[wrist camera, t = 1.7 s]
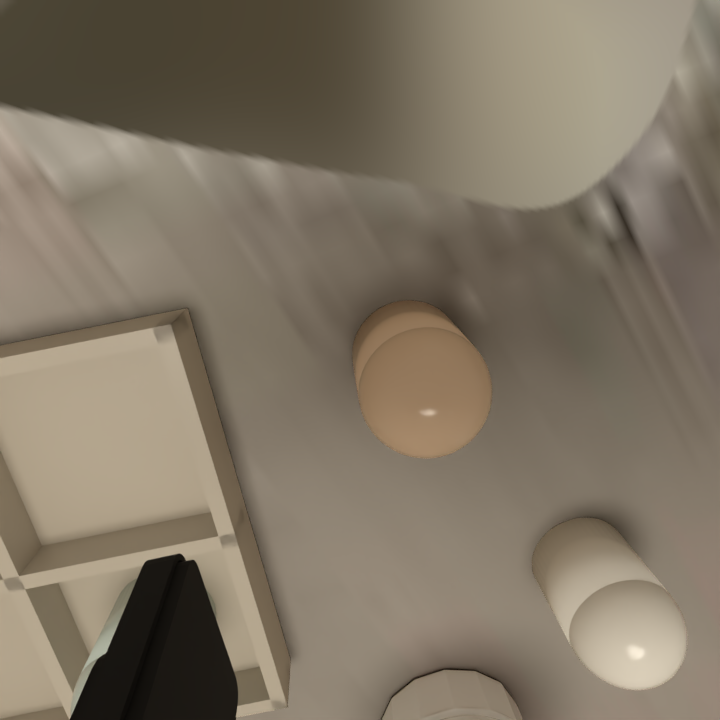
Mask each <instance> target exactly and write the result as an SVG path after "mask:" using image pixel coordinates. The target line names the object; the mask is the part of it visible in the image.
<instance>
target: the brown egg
mask: <svg viewBox="0 0 720 720" xmlns="http://www.w3.org/2000/svg"><path fill="white" fill-rule="evenodd" d="M352 360H353V367H354V373H355V380H356V386H357V392H358V398H359V404H360V408H361V411H362V414H363V417H364V419H365V421H366V423H367V425H368V427H369V428H370V430H371V431H372V432H373V433H374V435H375V436H376V437H377V438H378V439H379V440H380V441H381V442H382V443H383V444H385V445H386V446H388V447H389V448H391V449H392V450H394V451H396V452H398V453H400V454H403V455H406V456H410V457H415V458H437V457H442V456H445V455H448V454H451V453H454V452H455V451H457V450H459V449H461V448H462V447H464V446H465V445H467V444H468V443H469V442H470V441H471V440H472V439H473V438H474V437H475V436H476V435H477V434H478V433H479V431H480V430H481V428H482V427H483V425H484V423H485V421H486V419H487V417H488V414H489V412H490V407H491V402H492V382H491V377H490V373H489V370H488V367H487V365H486V363H485V361H484V359H483V358H482V356H481V354H480V353H479V352H478V350H477V349H476V348H475V347H474V346H473V345H472V343H471V342H470V341H469V340H468V339H467V338H466V337H465V336H464V334H463V333H462V332H461V331H460V330H459V329H458V328H457V327H456V326H455V324H454V323H453V322H452V321H451V320H450V319H449V318H448V317H447V316H446V315H445V314H444V313H443V312H442V311H440V310H439V309H438V308H436V307H434V306H432V305H430V304H427V303H424V302H420V301H414V300H404V301H397V302H393V303H390V304H387V305H385V306H383V307H381V308H379V309H378V310H376V311H375V312H373V313H372V314H371V315H370V316H369V317H368V318H367V319H366V320H365V321H364V322H363V324H362V325H361V327H360V328H359V330H358V332H357V334H356V337H355V340H354V343H353V349H352Z"/></svg>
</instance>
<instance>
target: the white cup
mask: <svg viewBox="0 0 720 720" xmlns="http://www.w3.org/2000/svg"><path fill="white" fill-rule="evenodd" d="M382 720H523V719H522V716H521V714H520V712H519V709H518V707H517V705H516V703H515V701H514V700H513V699H512V697H511V696H510V695H509V693H508V692H507V690H506V689H505V688H504V686H503V685H502V684H501V683H500V682H498V681H496V680H494V679H492V678H489V677H487V676H485V675H483V674H481V673H479V672H477V671H465V670H442V671H439V672H436V673H433V674H429V675H426V676H423V677H420V678H417V679H415V680H413V681H412V682H411V683H410V684H408V685H407V686H406V687H405V688H403V689H402V690H401V691H400V692H398V693H397V694H396V695H395V696H394V697H392V699H391V701H390V703H389V705H388V707H387V709H386V711H385V714H384V716H383V718H382Z"/></svg>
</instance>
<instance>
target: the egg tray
mask: <svg viewBox="0 0 720 720" xmlns="http://www.w3.org/2000/svg"><path fill="white" fill-rule="evenodd" d="M179 553H180V554H182V555H183V556H184V558H185V560H186V561H188V560H195V562H196V563H197V565H198V568H199V571H200V574H201V576H202V579H203V582H204V585H205V588H206V590H207V591H208V593H209V594H210V595H211V597H212V599H213V601H214V603H215V607H216V613H217V616H216V620H217V623H218V626H219V629H220V632H221V635H222V638H223V641H224V644H225V647H226V650H227V652H228V655H229V658H230V661H231V664H232V667H233V670H234V673H235V676H236V680H237V685H238V706H237V713H236V718H237V717H242V716H247V715H252V714H257V713H262V712H267V711H272V710H277V709H282V708H287V707H288V695H289V679H290V664H291V660H290V656H289V653H288V650H287V646H286V643H285V639H284V636H283V632H282V629H281V626H280V622H279V619H278V615H277V612H276V609H275V605H274V602H273V598H272V595H271V591H270V588H269V585H268V581H267V578H266V574H265V571H264V568H263V564H262V561H261V557H260V554H259V550H258V547H257V544H256V540H255V537H254V533H253V530H252V527H251V523H250V520H249V516H248V513H247V509H246V506H245V503H244V499H243V496H242V492H241V489H240V486H239V482H238V479H237V475H236V472H235V468H234V465H233V462H232V458H231V455H230V451H229V448H228V445H227V441H226V438H225V434H224V431H223V427H222V424H221V421H220V417H219V414H218V410H217V407H216V404H215V400H214V397H213V393H212V390H211V386H210V383H209V380H208V376H207V373H206V369H205V366H204V362H203V359H202V356H201V352H200V349H199V345H198V342H197V339H196V335H195V332H194V328H193V325H192V321H191V318H190V315H189V311H188V308H185V309H180V310H175V311H170V312H165V313H160V314H155V315H150V316H145V317H140V318H135V319H130V320H125V321H120V322H115V323H110V324H105V325H100V326H95V327H90V328H85V329H80V330H75V331H70V332H65V333H60V334H55V335H50V336H45V337H40V338H35V339H30V340H25V341H20V342H15V343H10V344H5V345H0V720H70V718H71V701H72V696H73V692H74V689H75V686H76V683H77V681H78V678H79V676H80V674H81V672H82V670H83V668H84V666H85V664H86V662H87V660H88V658H89V656H90V654H91V651H92V649H93V647H94V645H95V643H96V641H97V639H98V637H99V635H100V633H101V631H102V629H103V627H104V625H105V623H106V621H107V619H108V617H109V615H110V612H111V610H112V608H113V606H114V604H115V602H116V600H117V598H118V596H119V594H120V593H121V591H122V590H123V589H124V588H125V587H126V586H127V585H128V584H129V583H130V582H132V581H133V580H135V579H137V578H138V576H139V573H140V571H141V569H142V566H143V564H144V563H145V562H146V561H147V560H151V559H155V558H160V557H165V556H169V555H174V554H179Z"/></svg>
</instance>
